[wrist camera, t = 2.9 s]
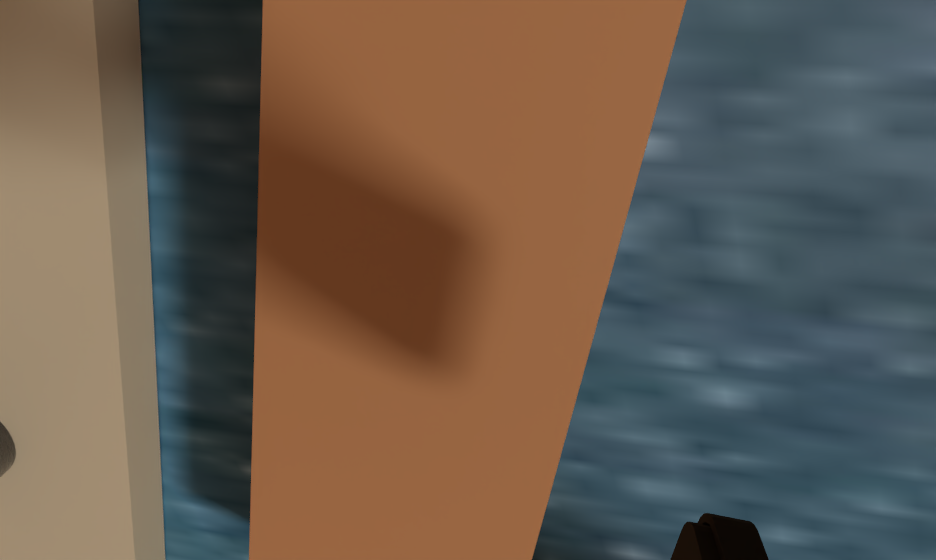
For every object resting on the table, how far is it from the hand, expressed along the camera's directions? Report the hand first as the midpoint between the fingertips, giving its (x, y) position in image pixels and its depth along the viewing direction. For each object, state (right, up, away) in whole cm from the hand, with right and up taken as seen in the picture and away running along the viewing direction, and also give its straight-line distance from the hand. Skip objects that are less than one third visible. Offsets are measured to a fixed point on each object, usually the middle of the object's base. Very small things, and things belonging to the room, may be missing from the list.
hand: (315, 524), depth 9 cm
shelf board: (+2, +4, +7) cm, 8 cm away
